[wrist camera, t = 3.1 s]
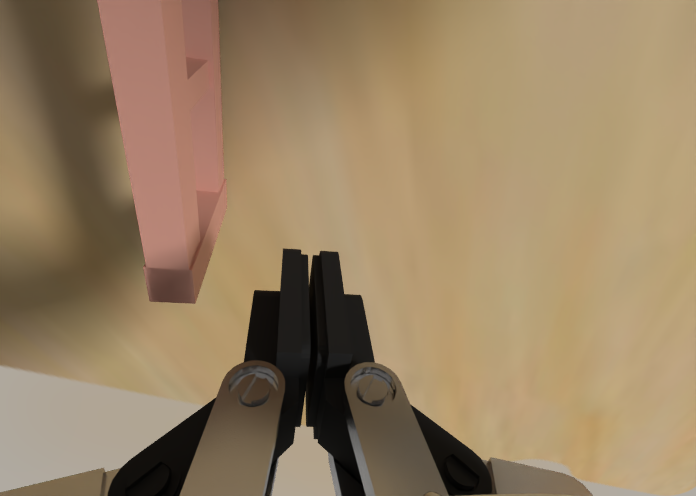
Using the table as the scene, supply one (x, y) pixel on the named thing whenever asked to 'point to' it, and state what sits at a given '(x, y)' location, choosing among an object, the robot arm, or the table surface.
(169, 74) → the gate
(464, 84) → the table surface
